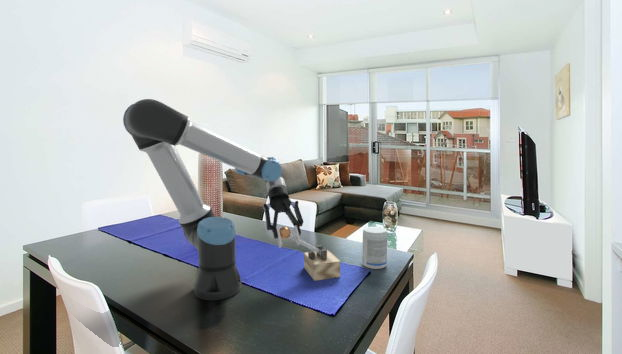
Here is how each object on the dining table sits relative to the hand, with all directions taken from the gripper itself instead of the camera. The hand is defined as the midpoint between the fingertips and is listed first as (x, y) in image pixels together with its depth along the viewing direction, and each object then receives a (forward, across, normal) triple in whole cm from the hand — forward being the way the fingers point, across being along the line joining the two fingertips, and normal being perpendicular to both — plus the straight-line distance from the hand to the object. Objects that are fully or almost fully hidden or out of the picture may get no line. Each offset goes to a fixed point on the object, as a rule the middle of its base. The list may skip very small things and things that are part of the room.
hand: (289, 244), depth 107 cm
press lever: (+2, -13, -8) cm, 15 cm away
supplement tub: (+8, -36, -13) cm, 39 cm away
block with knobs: (+7, -13, -13) cm, 20 cm away
